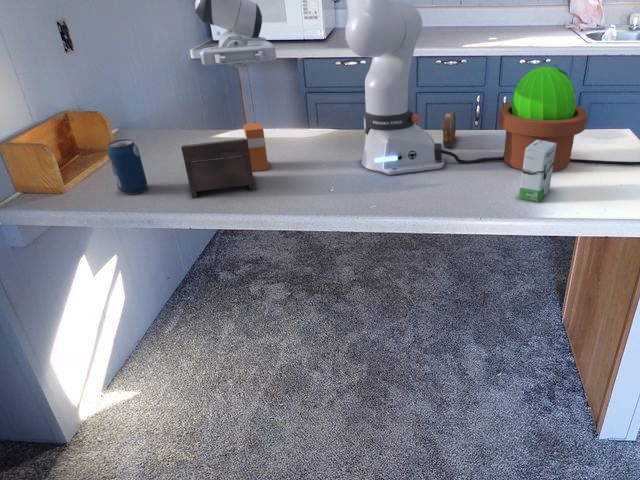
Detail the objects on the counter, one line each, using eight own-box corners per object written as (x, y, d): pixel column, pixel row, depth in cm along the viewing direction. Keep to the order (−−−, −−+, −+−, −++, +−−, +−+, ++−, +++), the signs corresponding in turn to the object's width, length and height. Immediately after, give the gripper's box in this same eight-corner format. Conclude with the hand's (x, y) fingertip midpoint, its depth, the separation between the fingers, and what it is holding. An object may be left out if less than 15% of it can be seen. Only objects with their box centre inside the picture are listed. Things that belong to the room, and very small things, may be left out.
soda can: (153, 185, 139) (142, 139, 132) (138, 196, 133) (125, 147, 127) (129, 184, 140) (116, 137, 134) (113, 194, 134) (98, 146, 128)
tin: (451, 151, 157) (452, 121, 152) (440, 150, 158) (441, 121, 153) (455, 135, 169) (457, 108, 165) (445, 135, 170) (446, 107, 166)
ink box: (538, 203, 124) (546, 152, 118) (517, 198, 127) (523, 148, 120) (550, 190, 131) (557, 141, 124) (530, 186, 133) (536, 138, 127)
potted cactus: (490, 172, 142) (499, 70, 129) (499, 146, 160) (508, 54, 146) (578, 179, 136) (598, 74, 123) (578, 151, 154) (594, 57, 141)
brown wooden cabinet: (250, 176, 143) (243, 128, 136) (255, 189, 135) (247, 139, 128) (191, 183, 139) (181, 135, 133) (192, 198, 131) (181, 147, 125)
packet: (265, 162, 152) (260, 122, 146) (268, 169, 147) (263, 128, 141) (249, 164, 151) (243, 124, 145) (251, 171, 146) (245, 130, 140)
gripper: (196, 41, 152) (198, 49, 140) (270, 36, 157) (277, 43, 145) (201, 65, 155) (202, 74, 144) (273, 60, 160) (280, 68, 149)
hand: (241, 59), depth 144 cm, fingers open, 8 cm apart
